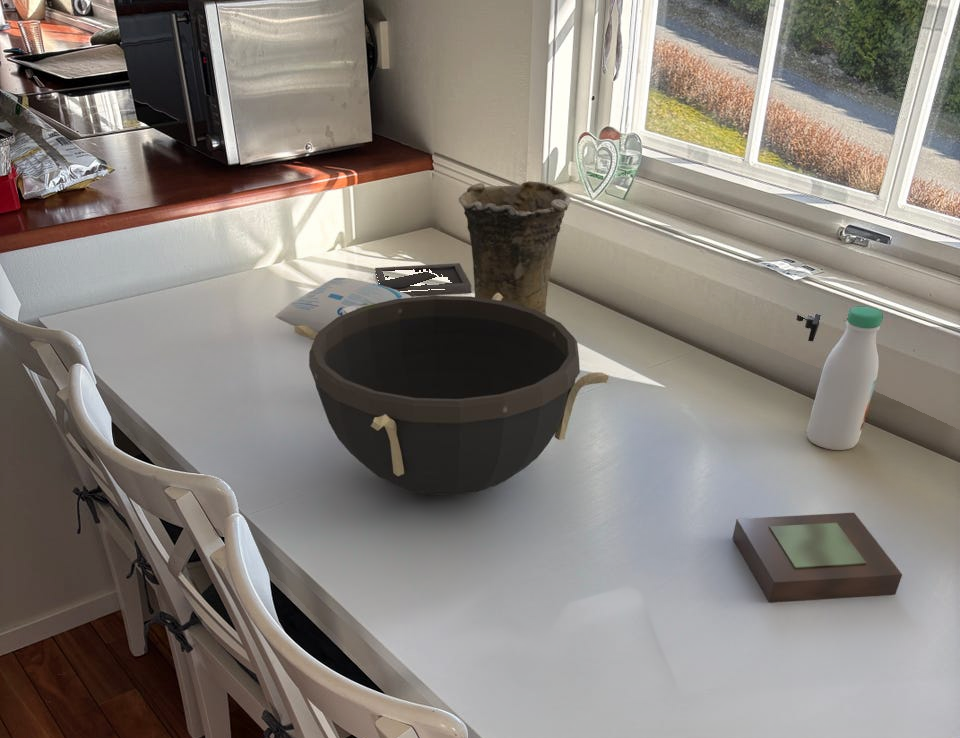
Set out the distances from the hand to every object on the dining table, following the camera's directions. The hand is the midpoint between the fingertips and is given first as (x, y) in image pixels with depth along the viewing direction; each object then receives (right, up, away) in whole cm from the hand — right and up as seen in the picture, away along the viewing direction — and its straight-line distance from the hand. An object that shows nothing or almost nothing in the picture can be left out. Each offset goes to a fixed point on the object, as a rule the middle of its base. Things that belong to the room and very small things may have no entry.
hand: (858, 340), depth 145 cm
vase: (-53, +6, +26) cm, 59 cm away
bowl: (-62, -23, -9) cm, 67 cm away
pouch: (-82, +12, +33) cm, 89 cm away
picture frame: (-70, +28, +52) cm, 91 cm away
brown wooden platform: (-16, -36, -25) cm, 47 cm away
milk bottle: (-4, -15, +2) cm, 15 cm away
